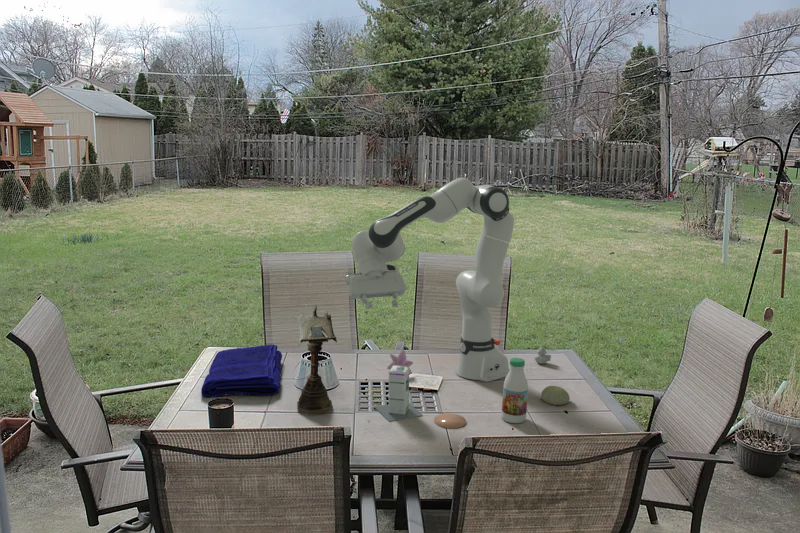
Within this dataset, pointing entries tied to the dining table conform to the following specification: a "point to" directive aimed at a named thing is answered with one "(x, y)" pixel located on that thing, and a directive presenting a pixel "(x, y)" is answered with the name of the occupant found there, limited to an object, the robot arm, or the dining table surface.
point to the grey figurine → (542, 356)
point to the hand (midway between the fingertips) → (382, 306)
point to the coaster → (450, 420)
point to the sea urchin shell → (555, 395)
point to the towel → (244, 372)
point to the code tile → (393, 417)
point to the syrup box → (398, 390)
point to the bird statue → (315, 362)
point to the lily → (400, 361)
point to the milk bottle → (515, 393)
